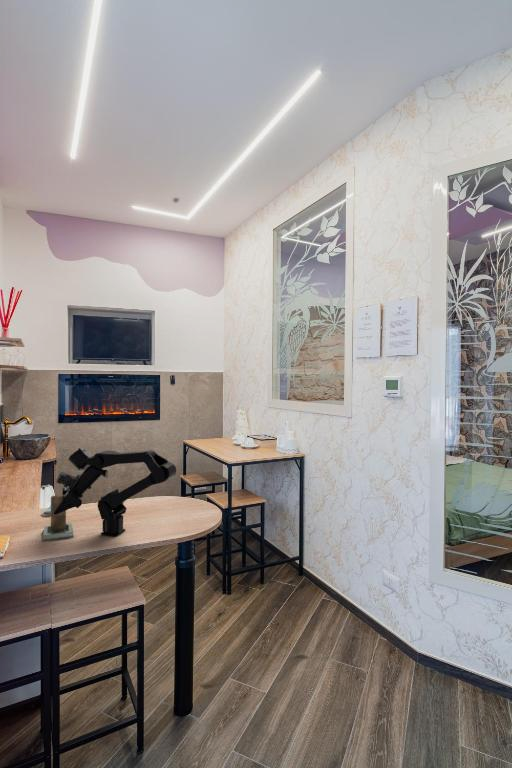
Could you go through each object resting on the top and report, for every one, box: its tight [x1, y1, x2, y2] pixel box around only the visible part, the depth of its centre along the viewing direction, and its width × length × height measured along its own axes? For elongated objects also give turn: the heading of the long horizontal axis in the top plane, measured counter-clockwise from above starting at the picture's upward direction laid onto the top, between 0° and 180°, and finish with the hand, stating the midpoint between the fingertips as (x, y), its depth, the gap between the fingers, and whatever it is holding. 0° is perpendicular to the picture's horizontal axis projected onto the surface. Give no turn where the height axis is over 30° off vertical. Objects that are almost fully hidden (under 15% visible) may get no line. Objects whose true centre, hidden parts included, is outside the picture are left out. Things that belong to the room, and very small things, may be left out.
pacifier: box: [40, 504, 51, 517], centre depth 177 cm, size 7×6×6 cm
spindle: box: [50, 494, 67, 532], centre depth 155 cm, size 5×5×12 cm
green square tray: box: [42, 522, 74, 542], centre depth 156 cm, size 10×10×2 cm
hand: (54, 511), depth 155 cm, fingers closed on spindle, 5 cm apart
